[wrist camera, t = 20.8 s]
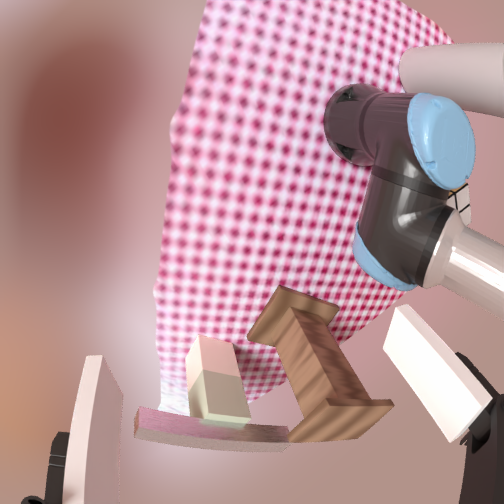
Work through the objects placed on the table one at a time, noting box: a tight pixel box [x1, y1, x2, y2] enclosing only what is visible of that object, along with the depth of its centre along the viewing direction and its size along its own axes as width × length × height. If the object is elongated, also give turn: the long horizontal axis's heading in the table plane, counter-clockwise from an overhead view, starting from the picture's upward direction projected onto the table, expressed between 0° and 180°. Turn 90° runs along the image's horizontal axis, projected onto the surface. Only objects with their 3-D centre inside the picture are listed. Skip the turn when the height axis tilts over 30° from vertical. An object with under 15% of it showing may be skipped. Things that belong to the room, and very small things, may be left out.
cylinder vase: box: [399, 43, 504, 118], centre depth 33 cm, size 12×12×25 cm
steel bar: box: [134, 407, 292, 452], centre depth 43 cm, size 28×4×4 cm, turn 62°
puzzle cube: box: [447, 182, 471, 226], centre depth 53 cm, size 10×10×10 cm
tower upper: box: [188, 369, 251, 424], centre depth 49 cm, size 8×8×10 cm
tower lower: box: [185, 334, 241, 392], centre depth 58 cm, size 8×8×10 cm
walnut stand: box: [247, 285, 394, 443], centre depth 51 cm, size 16×14×28 cm
